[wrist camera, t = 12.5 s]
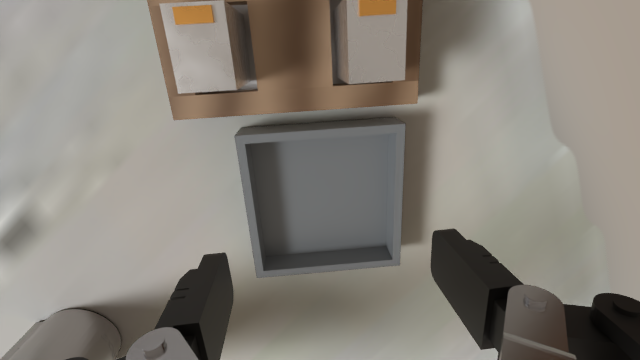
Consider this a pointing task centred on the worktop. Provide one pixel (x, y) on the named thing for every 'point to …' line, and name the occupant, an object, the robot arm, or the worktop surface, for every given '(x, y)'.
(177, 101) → the pallet
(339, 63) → the block
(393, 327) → the worktop surface
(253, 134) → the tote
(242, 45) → the block
